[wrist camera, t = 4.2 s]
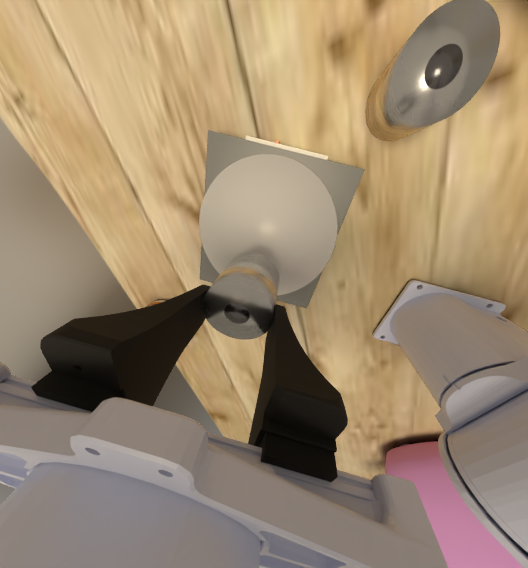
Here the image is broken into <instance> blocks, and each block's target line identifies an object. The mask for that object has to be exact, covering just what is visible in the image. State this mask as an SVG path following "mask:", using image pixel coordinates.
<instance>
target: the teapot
mask: <svg viewBox="0 0 528 568" xmlns="http://www.w3.org/2000/svg"><path fill="white" fill-rule="evenodd" d="M385 472H386V474H389V475H392V476H396V477H399V478H402V479H406V480H409V481H412V482H413V483H414V484H415V486H416V489H417V491H418V494H419V496H420V499H421V501H422V503H423V506H424V508H425V511H426V513H427V516H428V518H429V521H430V523H431V526H432V528H433V531H434V533H435V536H436V538H437V541H438V543H439V546H440V548H441V551H442V553H443V556H444V558H445V561H446V563H447V566H448V568H523V567H522V566H521V565H520V563H519V562H518V561H517V560H516V559H515V558H514V557H513V556H512V555H511V554H510V553H509V552H508V551H507V550H506V549H505V548H504V547H503V546H502V545H501V544H500V543H499V542H498V541H497V540H496V539H495V538H494V537H493V536H492V535H491V533H490V532H489V531H488V530H487V529H486V528H485V527H484V526H483V525H482V524H481V523H480V521H479V520H478V519H477V518H476V517H475V516H474V514H473V513H472V512H471V510H470V509H469V508H468V507H467V505H466V504H465V502H464V501H463V500H462V498H461V497H460V495H459V494H458V492H457V490H456V489H455V487H454V485H453V484H452V482H451V480H450V478H449V476H448V474H447V472H446V470H445V467H444V465H443V463H442V460H441V457H440V453H439V448H438V441H433V442H422V443H415V444H403V445H401V446H399V447H396V448H393V449H391V450H389V451H388V452H387V456H386V462H385Z"/></svg>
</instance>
